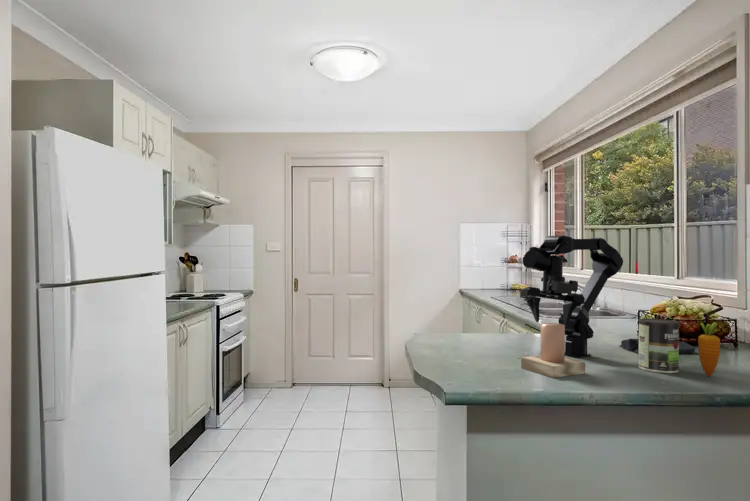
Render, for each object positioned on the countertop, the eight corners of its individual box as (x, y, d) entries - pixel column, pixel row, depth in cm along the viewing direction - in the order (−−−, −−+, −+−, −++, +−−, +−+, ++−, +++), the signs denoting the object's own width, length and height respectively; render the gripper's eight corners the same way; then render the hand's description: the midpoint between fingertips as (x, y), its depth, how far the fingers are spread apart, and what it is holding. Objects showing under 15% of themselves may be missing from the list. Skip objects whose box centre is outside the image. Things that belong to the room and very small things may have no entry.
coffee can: (687, 371, 138) (687, 322, 138) (664, 375, 133) (665, 324, 133) (651, 363, 147) (652, 317, 147) (630, 367, 142) (630, 319, 142)
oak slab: (551, 364, 145) (552, 354, 145) (584, 373, 134) (585, 362, 134) (521, 367, 139) (521, 357, 139) (552, 377, 129) (553, 366, 129)
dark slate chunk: (703, 357, 159) (703, 342, 159) (634, 355, 161) (634, 341, 161) (676, 347, 175) (677, 334, 175) (614, 346, 176) (614, 333, 176)
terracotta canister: (552, 356, 141) (552, 322, 141) (569, 360, 135) (569, 325, 135) (535, 358, 138) (535, 323, 138) (552, 363, 132) (552, 326, 133)
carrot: (693, 374, 134) (693, 320, 134) (710, 374, 135) (710, 320, 135) (707, 378, 129) (707, 323, 129) (724, 378, 130) (725, 323, 130)
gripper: (536, 265, 143) (534, 317, 139) (595, 273, 145) (595, 325, 141) (520, 272, 154) (518, 320, 150) (575, 280, 156) (574, 328, 152)
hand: (551, 324), depth 148 cm, fingers open, 9 cm apart
